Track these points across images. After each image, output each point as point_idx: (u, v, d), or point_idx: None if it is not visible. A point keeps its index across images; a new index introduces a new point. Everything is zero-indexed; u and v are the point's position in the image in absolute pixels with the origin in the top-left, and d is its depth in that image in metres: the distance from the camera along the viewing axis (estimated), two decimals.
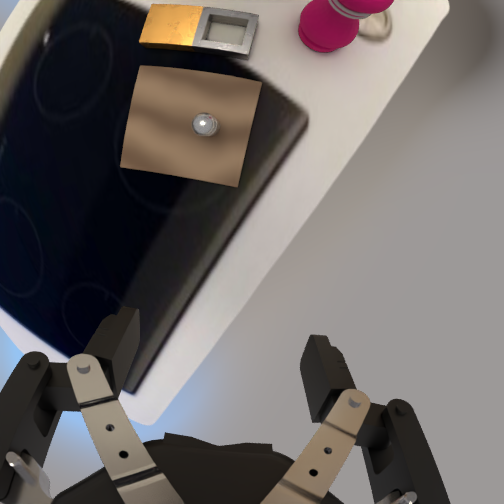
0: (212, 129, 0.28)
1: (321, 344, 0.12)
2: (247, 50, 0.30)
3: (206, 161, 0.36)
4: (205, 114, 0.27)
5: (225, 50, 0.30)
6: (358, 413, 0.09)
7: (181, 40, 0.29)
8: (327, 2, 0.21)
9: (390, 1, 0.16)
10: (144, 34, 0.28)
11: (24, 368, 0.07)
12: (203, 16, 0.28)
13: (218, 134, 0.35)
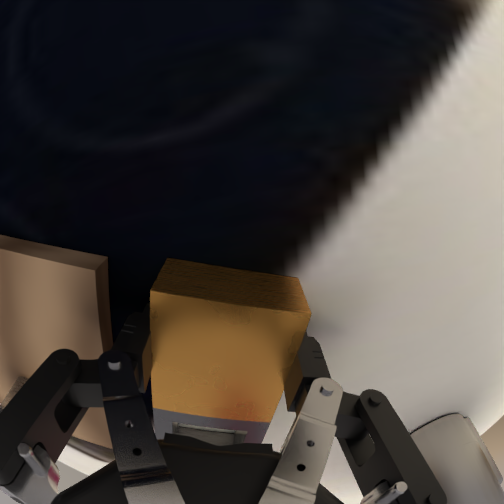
0: None
1: None
2: None
3: None
4: None
5: None
6: (329, 401, 0.09)
7: (164, 392, 0.12)
8: None
9: None
10: (180, 305, 0.11)
11: (52, 364, 0.08)
12: (239, 424, 0.13)
13: None
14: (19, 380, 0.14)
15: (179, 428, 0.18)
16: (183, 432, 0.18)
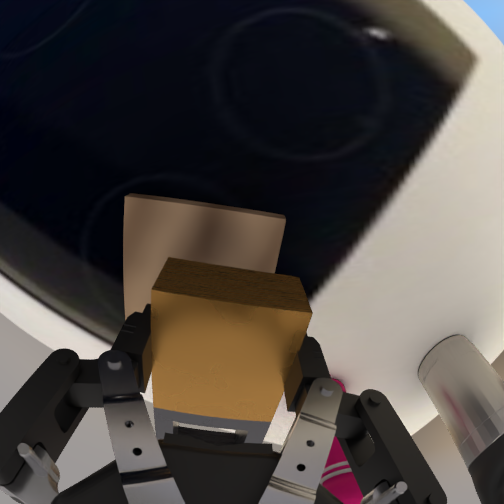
0: None
1: None
2: None
3: None
4: None
5: None
6: (328, 401, 0.09)
7: (164, 392, 0.12)
8: (339, 451, 0.25)
9: None
10: (181, 304, 0.11)
11: (52, 364, 0.08)
12: (240, 423, 0.13)
13: None
14: None
15: (180, 428, 0.18)
16: (184, 432, 0.18)
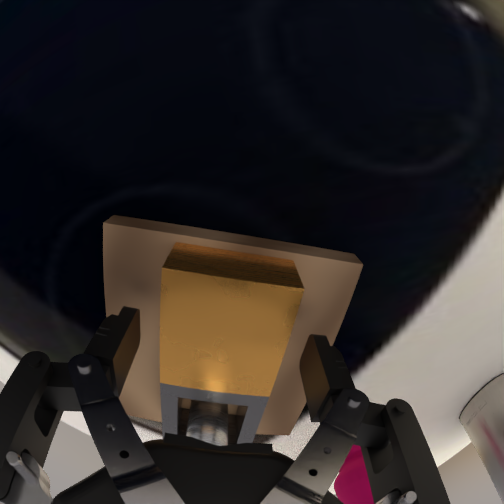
0: None
1: (320, 344, 0.12)
2: None
3: (147, 385, 0.19)
4: None
5: (162, 422, 0.16)
6: (357, 413, 0.09)
7: (171, 366, 0.14)
8: None
9: None
10: (188, 281, 0.12)
11: (25, 368, 0.07)
12: (240, 398, 0.15)
13: None
14: None
15: (183, 409, 0.19)
16: (187, 413, 0.19)
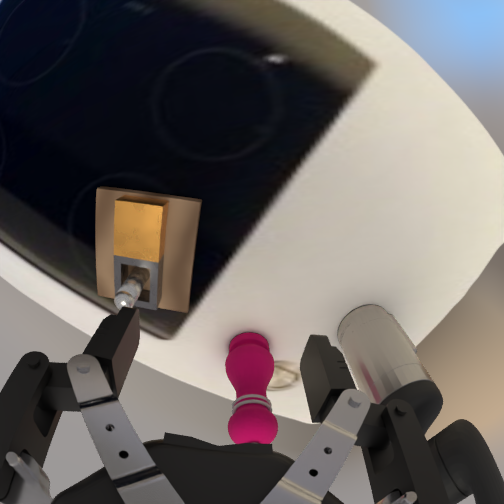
0: None
1: (321, 344, 0.12)
2: None
3: (111, 271, 0.39)
4: (130, 305, 0.32)
5: (114, 284, 0.36)
6: (358, 413, 0.09)
7: (118, 244, 0.34)
8: (250, 387, 0.36)
9: None
10: (123, 204, 0.32)
11: (24, 368, 0.07)
12: (146, 263, 0.35)
13: None
14: (137, 266, 0.38)
15: None
16: None
